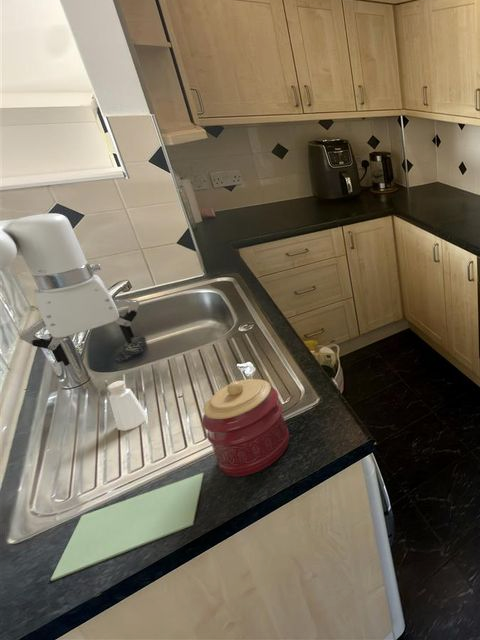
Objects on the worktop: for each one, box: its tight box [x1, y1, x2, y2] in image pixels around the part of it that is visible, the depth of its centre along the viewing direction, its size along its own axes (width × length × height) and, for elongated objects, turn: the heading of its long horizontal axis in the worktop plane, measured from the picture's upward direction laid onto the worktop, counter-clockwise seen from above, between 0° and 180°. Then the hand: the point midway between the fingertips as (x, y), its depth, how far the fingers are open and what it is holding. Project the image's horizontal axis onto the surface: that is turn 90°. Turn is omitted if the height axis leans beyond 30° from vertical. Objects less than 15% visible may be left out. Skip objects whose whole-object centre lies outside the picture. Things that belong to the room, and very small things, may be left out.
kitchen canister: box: [201, 378, 290, 478], centre depth 82 cm, size 13×13×18 cm
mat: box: [50, 472, 205, 582], centre depth 71 cm, size 18×12×1 cm, turn 119°
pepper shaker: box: [106, 380, 148, 432], centre depth 93 cm, size 5×5×11 cm
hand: (99, 351), depth 85 cm, fingers open, 9 cm apart
